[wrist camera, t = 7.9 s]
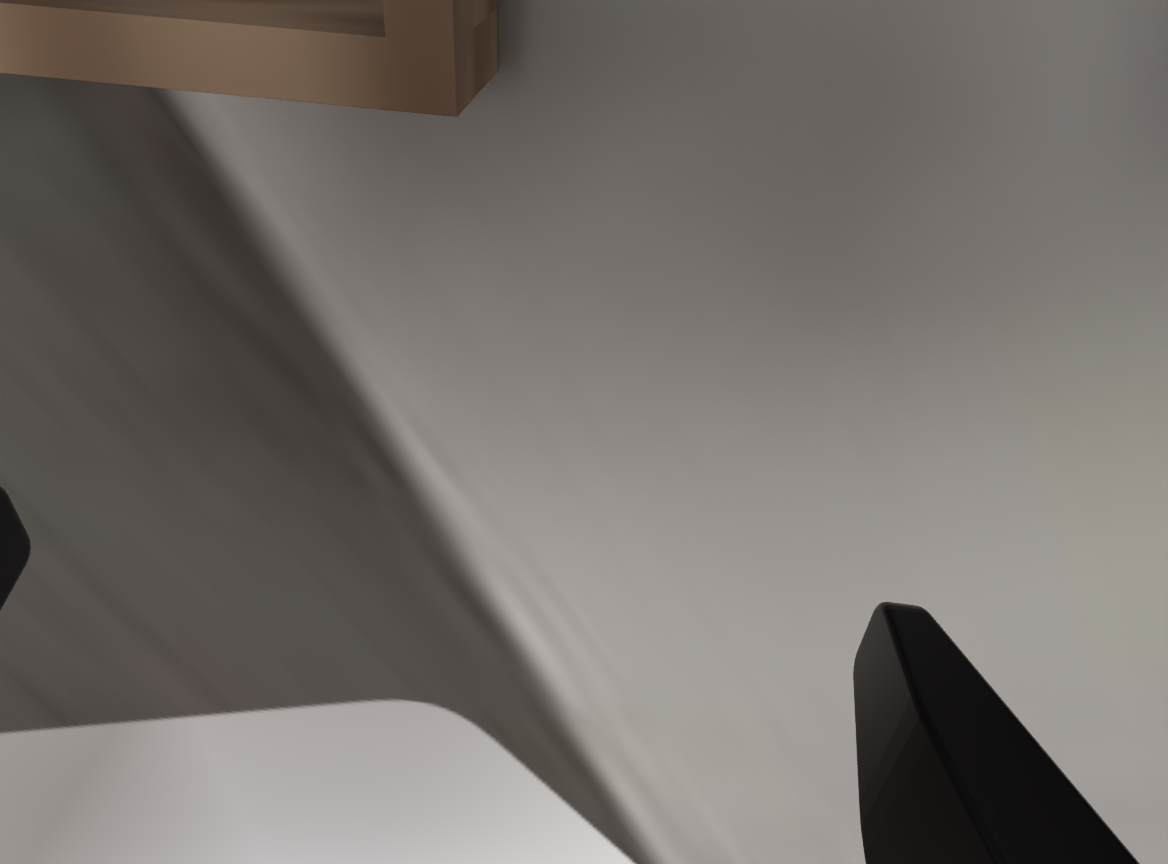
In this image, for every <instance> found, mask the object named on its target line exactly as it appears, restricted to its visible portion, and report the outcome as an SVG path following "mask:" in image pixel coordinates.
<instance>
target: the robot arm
mask: <svg viewBox="0 0 1168 864" xmlns="http://www.w3.org/2000/svg"><path fill="white" fill-rule="evenodd" d="M30 549H31V545H30V539H29V536H28V534H27V532H26V530H25V528H24V526H23V524H22V522H21V520H20V518H19V516H18V514H17V512H16V510H15V508H14V506H13V504H12V502H11V500H10V498H9V496H8V494H7V493H6V491H5V490H4V489H3V488H2V487H0V610H1V608H2V606H3V605H4V603H5V601H6V599H7V598H8V596H9V594H10V592H11V590H12V589H13V587H14V585H15V583H16V581H17V580H18V578H19V576H20V574H21V573H22V571H23V569H24V567H25V565H26V563H27V561H28V559H29V555H30ZM853 679H854V701H855V722H856V744H857V765H858V786H859V806H860V821H861V832H862V839H863V847H864V854H865V861H866V864H1139V862H1138V861H1137V860H1136V859H1135V858H1134V857H1133V855H1132V854H1131V853H1130V852H1129V851H1128V849H1127V848H1126V847H1125V846H1124V845H1123V843H1122V842H1121V841H1120V840H1119V839H1118V837H1117V836H1116V835H1115V834H1114V833H1113V831H1112V830H1111V829H1110V828H1109V827H1108V825H1107V824H1106V823H1105V822H1104V821H1103V820H1102V818H1101V817H1100V816H1099V815H1098V814H1097V812H1096V811H1095V810H1094V809H1093V808H1092V806H1091V805H1090V804H1089V803H1088V802H1087V800H1086V799H1085V798H1084V797H1083V796H1082V794H1081V793H1080V792H1079V791H1078V790H1077V789H1076V787H1075V786H1074V785H1073V784H1072V783H1071V781H1070V780H1069V779H1068V778H1067V777H1066V775H1065V774H1064V773H1063V772H1062V771H1061V769H1060V768H1059V767H1058V766H1057V765H1056V763H1055V762H1054V761H1053V760H1052V759H1051V757H1050V756H1049V755H1048V754H1047V753H1046V752H1045V750H1044V749H1043V748H1042V747H1041V746H1040V744H1039V743H1038V742H1037V741H1036V740H1035V738H1034V737H1033V736H1032V735H1031V734H1030V732H1029V731H1028V730H1027V729H1026V728H1025V726H1024V725H1023V724H1022V723H1021V722H1020V721H1019V719H1018V718H1017V717H1016V716H1015V715H1014V713H1013V712H1012V711H1011V710H1010V709H1009V707H1008V706H1007V705H1006V704H1005V703H1004V701H1003V700H1002V699H1001V698H1000V697H999V695H998V694H997V693H996V692H995V691H994V690H993V688H992V687H991V686H990V685H989V684H988V682H987V681H986V680H985V679H984V678H983V676H982V675H981V674H980V673H979V672H978V670H977V669H976V668H975V667H974V666H973V664H972V663H971V662H970V661H969V660H968V658H967V657H966V656H965V655H964V654H963V653H962V651H961V650H960V649H959V648H958V647H957V645H956V644H955V643H954V642H953V641H952V639H951V638H950V637H949V636H948V635H947V633H946V632H945V631H944V630H943V629H942V627H941V626H940V625H939V624H938V623H937V622H936V620H935V619H934V618H933V617H932V616H931V614H930V613H929V612H928V611H926V610H925V609H924V608H922V607H919V606H915V605H907V604H900V603H892V602H882V603H880V604H879V605H878V606H877V607H876V608H875V610H874V612H873V614H872V617H871V619H870V622H869V624H868V627H867V629H866V631H865V634H864V636H863V639H862V641H861V644H860V646H859V648H858V651H857V654H856V657H855V662H854V673H853Z"/></svg>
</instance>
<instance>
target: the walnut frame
mask: <svg viewBox="0 0 1168 864" xmlns="http://www.w3.org/2000/svg"><path fill="white" fill-rule="evenodd" d="M497 71H498V13H497V0H0V73H9V74H19V75H30V76H40V77H51V78H61V79H71V80H82V81H92V82H102V83H113V84H123V85H134V86H144V87H154V88H165V89H175V90H185V91H196V92H206V93H217V94H227V95H237V96H248V97H258V98H269V99H279V100H289V101H300V102H310V103H320V104H331V105H341V106H352V107H362V108H372V109H383V110H393V111H403V112H414V113H424V114H435V115H445V116H455V117H457V116H458V115H459V114H460V113H461V111H462V110H463V109H464V108H465V107H466V106H467V105H468V104H469V103H470V101H471V100H472V99H473V98H474V97H475V96H476V95H477V94H478V93H479V91H480V90H481V89H482V88H483V87H484V86H485V85H486V84H487V82H488V81H489V80H490V79H491V78H492V77H493V76H494V75H495V74H496V72H497Z"/></svg>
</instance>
